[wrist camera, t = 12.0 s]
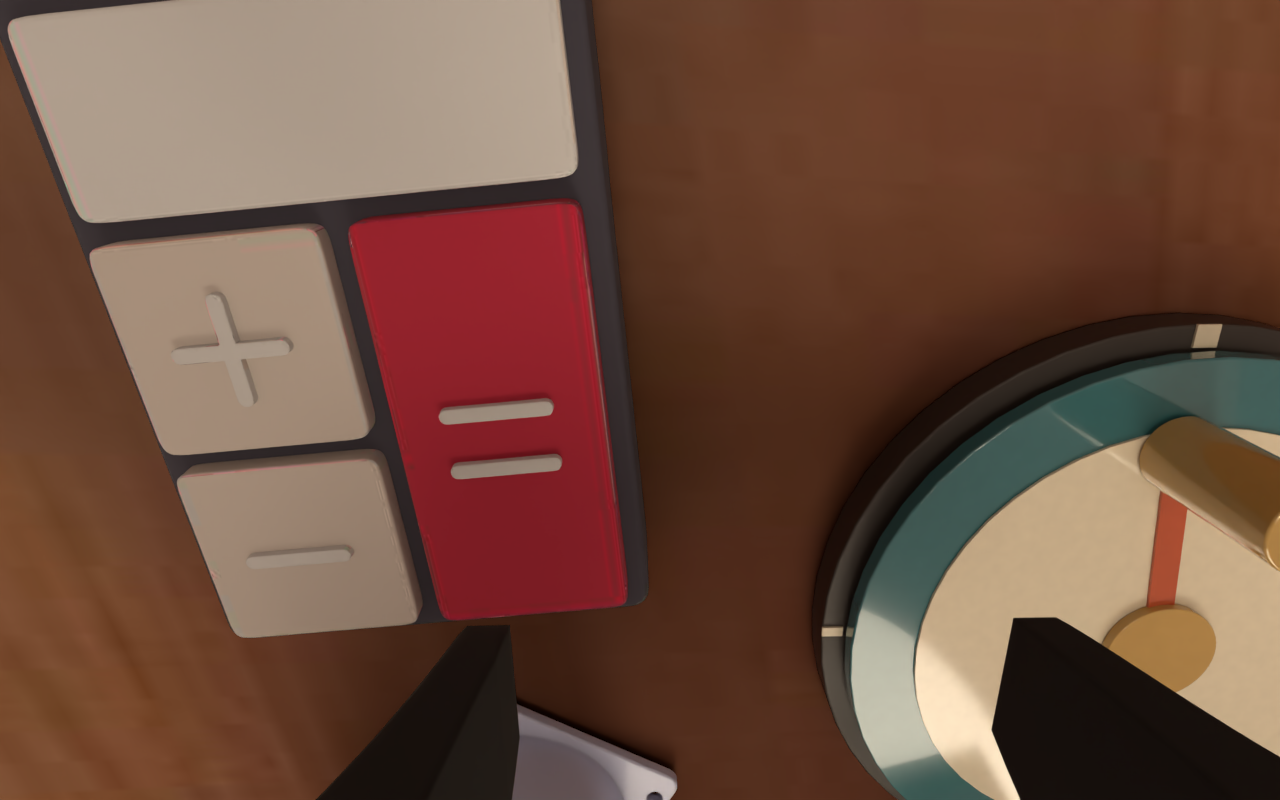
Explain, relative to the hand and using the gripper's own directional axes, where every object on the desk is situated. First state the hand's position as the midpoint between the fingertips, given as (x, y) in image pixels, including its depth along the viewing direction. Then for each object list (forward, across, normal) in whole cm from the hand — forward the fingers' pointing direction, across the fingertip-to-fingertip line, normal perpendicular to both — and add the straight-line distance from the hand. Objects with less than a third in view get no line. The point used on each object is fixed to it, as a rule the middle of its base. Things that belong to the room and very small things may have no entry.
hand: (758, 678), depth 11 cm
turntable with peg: (+9, -13, +6) cm, 17 cm away
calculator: (+11, +8, -3) cm, 13 cm away
